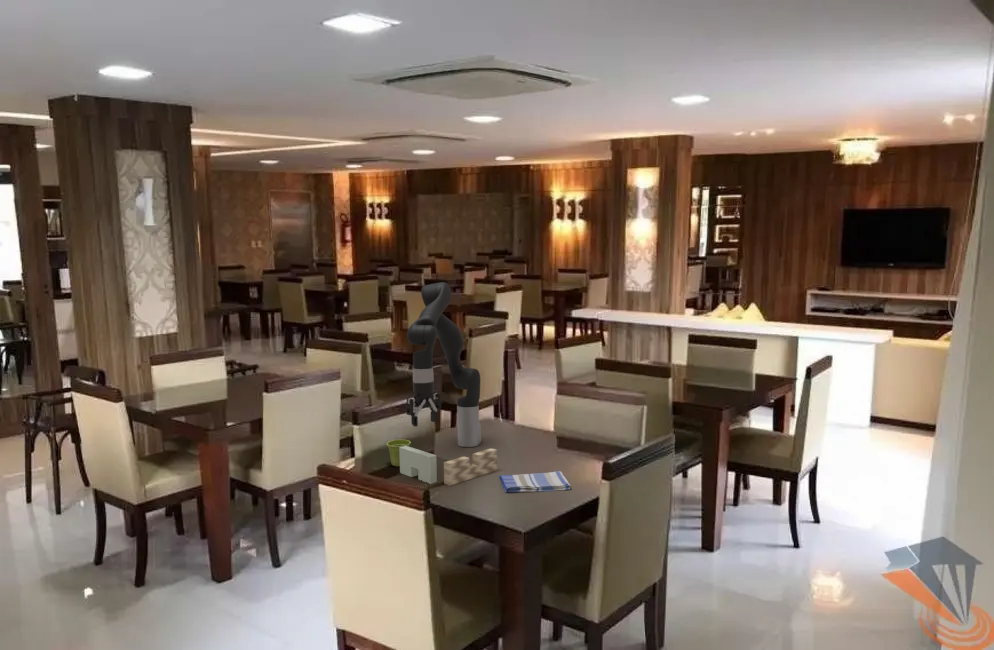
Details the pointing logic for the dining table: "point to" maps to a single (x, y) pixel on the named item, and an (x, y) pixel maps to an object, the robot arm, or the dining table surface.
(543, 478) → the dish towel
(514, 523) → the dining table surface
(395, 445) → the plant pot
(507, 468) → the dining table surface
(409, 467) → the sage slotted board
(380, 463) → the dining table surface
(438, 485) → the dining table surface
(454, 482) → the maple slotted board
